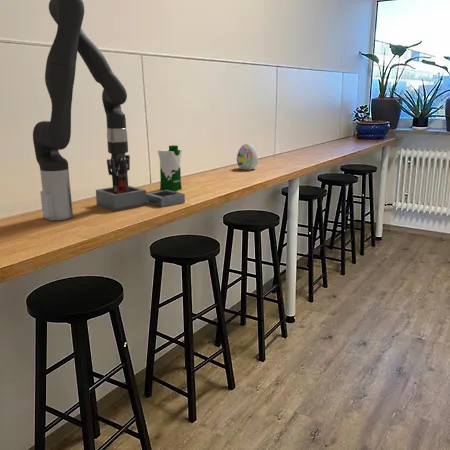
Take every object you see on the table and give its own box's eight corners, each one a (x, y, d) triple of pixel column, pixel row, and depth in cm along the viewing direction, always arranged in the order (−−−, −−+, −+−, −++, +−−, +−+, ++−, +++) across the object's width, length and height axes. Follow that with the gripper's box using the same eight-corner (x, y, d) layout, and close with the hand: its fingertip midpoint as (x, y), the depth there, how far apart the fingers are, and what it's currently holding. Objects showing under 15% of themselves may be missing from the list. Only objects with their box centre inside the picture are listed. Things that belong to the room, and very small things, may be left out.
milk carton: (172, 192, 200) (171, 147, 195) (157, 190, 205) (155, 145, 199) (184, 189, 208) (183, 145, 202) (168, 186, 212) (167, 144, 206)
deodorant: (131, 196, 180) (128, 158, 175) (125, 199, 174) (123, 161, 170) (117, 195, 181) (114, 158, 176) (111, 199, 175) (108, 160, 170)
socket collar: (161, 207, 175) (161, 198, 174) (144, 202, 183) (144, 193, 182) (184, 202, 182) (184, 193, 181) (167, 197, 190) (167, 189, 189)
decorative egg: (232, 168, 263) (232, 142, 259) (247, 166, 271) (247, 141, 267) (247, 171, 254) (247, 144, 250) (262, 169, 262) (262, 143, 258)
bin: (115, 211, 168) (114, 195, 167) (96, 204, 178) (95, 189, 176) (146, 205, 178) (146, 190, 176) (127, 199, 187) (126, 185, 186)
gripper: (117, 138, 178) (120, 179, 183) (98, 141, 165) (102, 186, 170) (135, 138, 177) (137, 180, 181) (117, 142, 163) (120, 188, 168)
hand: (120, 183), depth 176 cm, fingers closed on deodorant, 6 cm apart
